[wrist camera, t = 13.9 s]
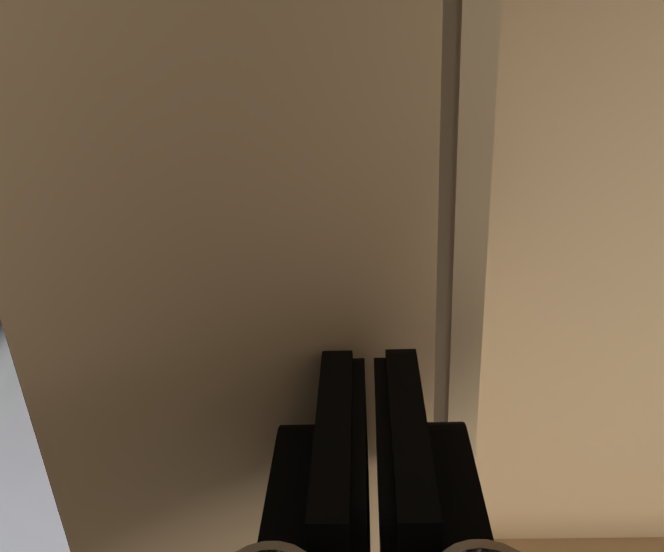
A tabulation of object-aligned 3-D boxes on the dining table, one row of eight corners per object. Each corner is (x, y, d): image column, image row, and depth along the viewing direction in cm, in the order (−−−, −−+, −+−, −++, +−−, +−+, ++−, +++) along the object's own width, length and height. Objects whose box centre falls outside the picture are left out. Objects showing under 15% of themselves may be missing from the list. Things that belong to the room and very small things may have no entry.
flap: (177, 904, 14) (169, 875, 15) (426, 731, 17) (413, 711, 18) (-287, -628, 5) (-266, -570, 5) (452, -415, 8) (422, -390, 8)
